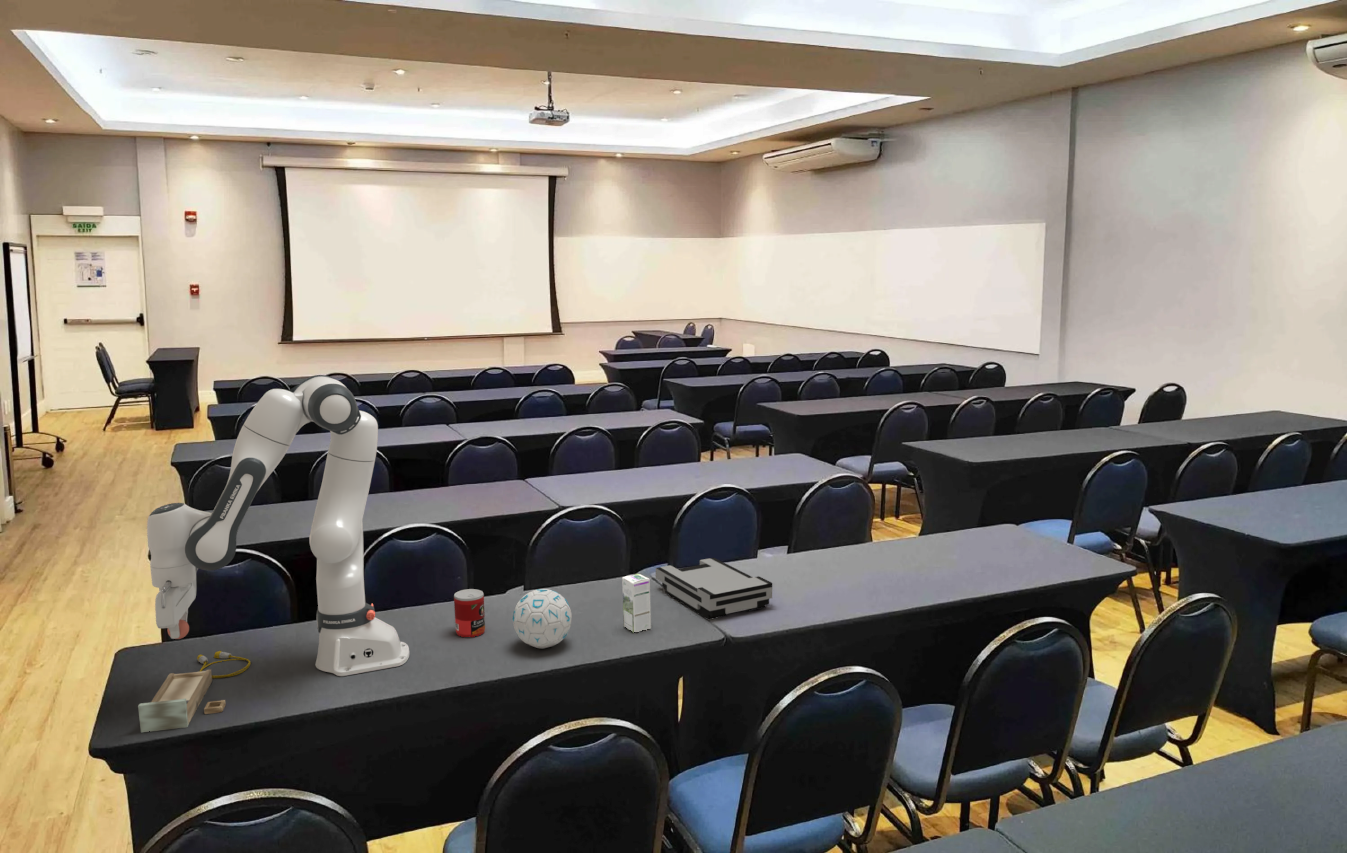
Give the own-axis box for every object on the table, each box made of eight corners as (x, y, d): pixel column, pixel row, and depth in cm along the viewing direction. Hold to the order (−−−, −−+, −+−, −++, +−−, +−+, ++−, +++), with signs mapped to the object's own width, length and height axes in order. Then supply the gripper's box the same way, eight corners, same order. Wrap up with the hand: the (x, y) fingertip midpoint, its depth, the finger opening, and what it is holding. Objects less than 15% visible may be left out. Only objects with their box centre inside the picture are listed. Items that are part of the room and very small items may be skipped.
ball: (191, 633, 217) (190, 615, 217) (187, 641, 213) (185, 622, 212) (171, 635, 216) (169, 617, 215) (165, 642, 212) (164, 624, 211)
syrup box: (651, 629, 254) (651, 578, 251) (633, 634, 250) (632, 582, 248) (640, 622, 258) (639, 572, 256) (622, 627, 255) (621, 576, 252)
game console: (713, 578, 295) (713, 553, 294) (772, 610, 268) (772, 582, 266) (655, 589, 286) (655, 564, 284) (709, 623, 258) (709, 595, 257)
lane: (212, 681, 224) (210, 657, 223) (187, 727, 201) (184, 700, 200) (170, 685, 221) (168, 661, 220) (140, 732, 199) (138, 706, 198)
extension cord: (250, 651, 242) (249, 644, 241) (251, 675, 228) (250, 667, 227) (197, 660, 237) (197, 652, 236) (195, 684, 223) (194, 676, 222)
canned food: (476, 639, 247) (474, 599, 246) (449, 636, 250) (448, 596, 248) (490, 629, 255) (489, 590, 253) (465, 625, 257) (463, 587, 255)
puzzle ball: (576, 653, 238) (574, 597, 235) (516, 660, 234) (514, 603, 232) (567, 631, 252) (566, 578, 250) (511, 637, 249) (509, 583, 246)
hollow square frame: (225, 704, 211) (225, 699, 211) (222, 712, 208) (221, 707, 207) (208, 706, 210) (207, 701, 210) (204, 714, 207) (204, 709, 207)
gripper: (176, 588, 203) (182, 648, 205) (199, 560, 223) (204, 615, 225) (144, 590, 201) (151, 651, 204) (170, 562, 221) (175, 618, 223)
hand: (179, 632), depth 214 cm, fingers closed on ball, 4 cm apart
